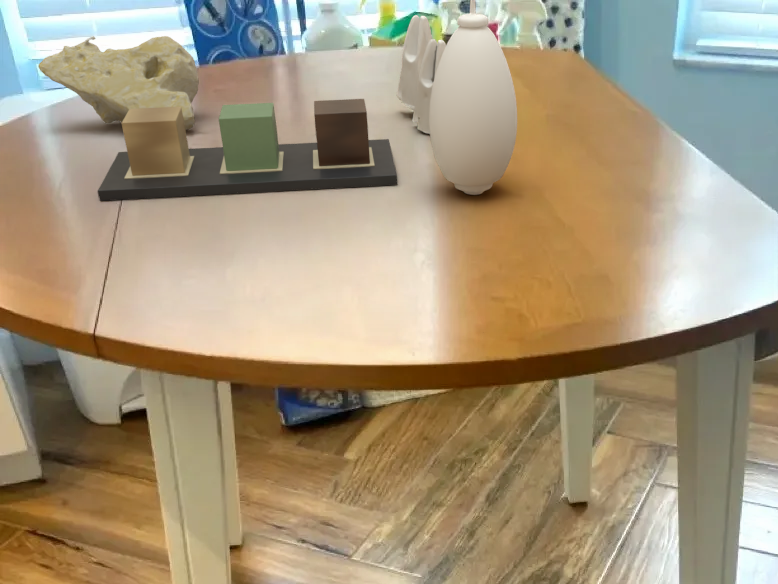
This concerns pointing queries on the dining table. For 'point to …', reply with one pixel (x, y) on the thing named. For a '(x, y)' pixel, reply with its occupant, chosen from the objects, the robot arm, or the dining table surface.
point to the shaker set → (419, 70)
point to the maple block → (156, 140)
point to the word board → (249, 174)
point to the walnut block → (341, 132)
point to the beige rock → (127, 77)
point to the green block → (249, 136)
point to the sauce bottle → (473, 107)
